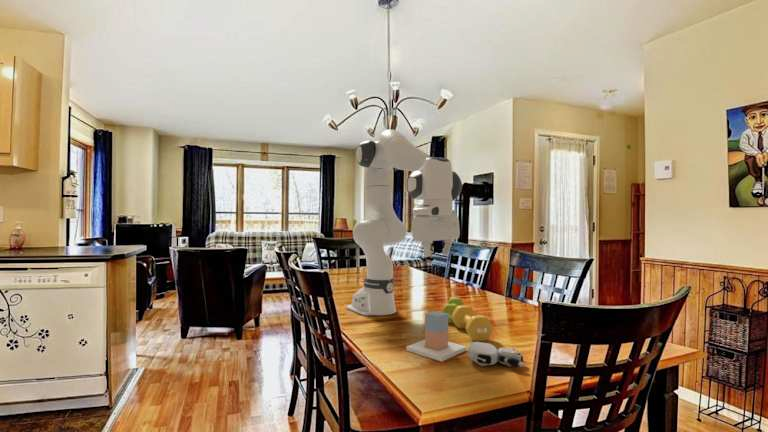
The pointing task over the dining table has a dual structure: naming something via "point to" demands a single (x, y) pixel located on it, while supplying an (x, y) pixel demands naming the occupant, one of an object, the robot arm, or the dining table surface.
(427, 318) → the brick blue
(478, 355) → the robot toy
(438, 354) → the plate
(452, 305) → the dumbbell
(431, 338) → the brick terracotta
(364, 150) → the robot arm
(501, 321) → the dining table surface
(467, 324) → the dumbbell
